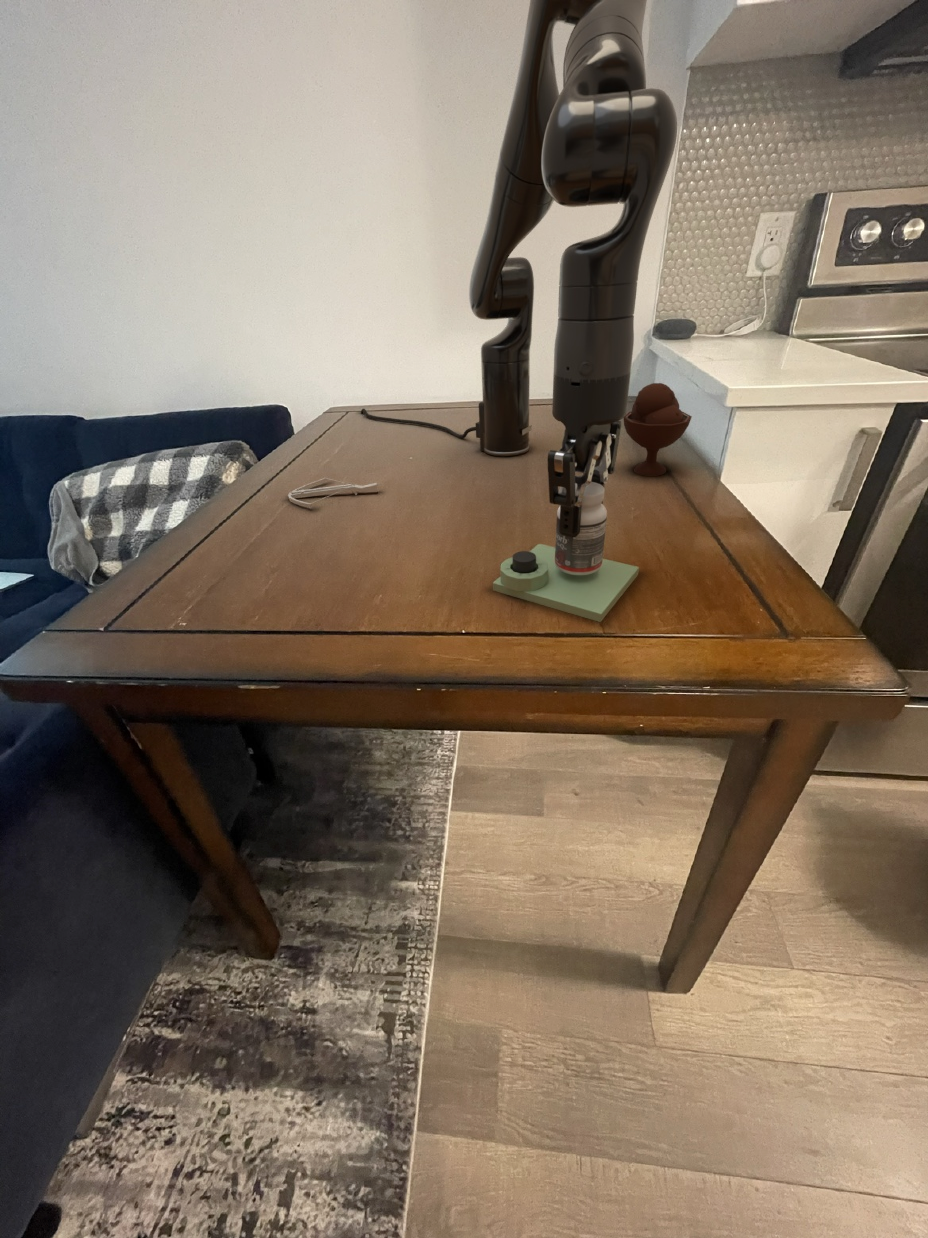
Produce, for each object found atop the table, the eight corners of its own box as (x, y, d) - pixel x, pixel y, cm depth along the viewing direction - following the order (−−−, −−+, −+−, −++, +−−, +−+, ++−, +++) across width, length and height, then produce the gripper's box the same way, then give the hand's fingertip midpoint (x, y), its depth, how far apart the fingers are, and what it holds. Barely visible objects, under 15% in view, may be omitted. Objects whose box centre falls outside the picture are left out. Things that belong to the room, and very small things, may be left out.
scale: (491, 592, 67) (490, 570, 65) (538, 551, 75) (539, 531, 73) (599, 624, 60) (601, 601, 58) (638, 575, 68) (641, 553, 66)
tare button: (508, 571, 65) (508, 558, 64) (519, 561, 67) (519, 548, 66) (528, 577, 64) (529, 563, 63) (539, 566, 66) (540, 554, 65)
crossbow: (281, 516, 92) (278, 505, 91) (299, 489, 103) (296, 478, 102) (374, 505, 91) (371, 493, 90) (382, 478, 102) (380, 468, 101)
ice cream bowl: (686, 481, 93) (702, 388, 84) (618, 480, 95) (628, 389, 86) (679, 461, 101) (693, 374, 93) (617, 460, 103) (625, 376, 95)
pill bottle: (550, 556, 69) (552, 480, 63) (594, 552, 69) (601, 476, 63) (560, 579, 64) (564, 499, 58) (607, 574, 64) (616, 495, 59)
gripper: (586, 354, 60) (577, 497, 70) (523, 380, 51) (522, 542, 60) (653, 357, 57) (634, 508, 66) (598, 385, 47) (585, 557, 57)
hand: (580, 523), depth 63 cm, fingers closed on pill bottle, 5 cm apart
